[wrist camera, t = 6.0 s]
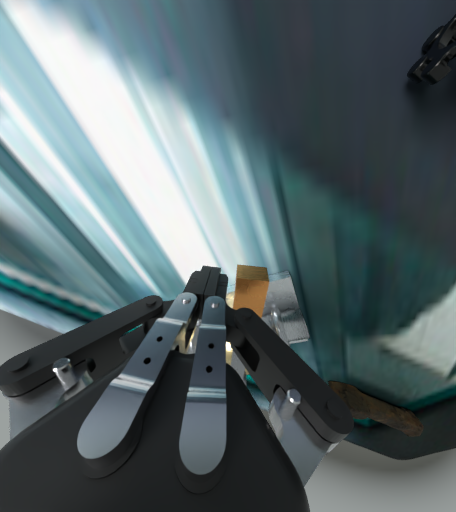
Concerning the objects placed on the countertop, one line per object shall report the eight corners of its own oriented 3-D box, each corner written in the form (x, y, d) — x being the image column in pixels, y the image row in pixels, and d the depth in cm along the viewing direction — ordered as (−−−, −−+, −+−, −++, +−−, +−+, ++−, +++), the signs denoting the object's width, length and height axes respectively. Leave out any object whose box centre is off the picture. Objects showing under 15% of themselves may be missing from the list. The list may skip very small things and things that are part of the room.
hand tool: (410, 406, 34) (434, 439, 30) (392, 413, 36) (412, 445, 32) (338, 371, 31) (352, 402, 27) (322, 381, 33) (333, 411, 29)
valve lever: (244, 379, 20) (244, 397, 18) (224, 376, 20) (222, 394, 18) (267, 267, 13) (271, 281, 11) (236, 264, 13) (235, 277, 11)
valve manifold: (170, 301, 26) (142, 350, 19) (287, 270, 22) (308, 318, 15) (202, 349, 31) (190, 403, 24) (304, 332, 27) (326, 390, 20)
